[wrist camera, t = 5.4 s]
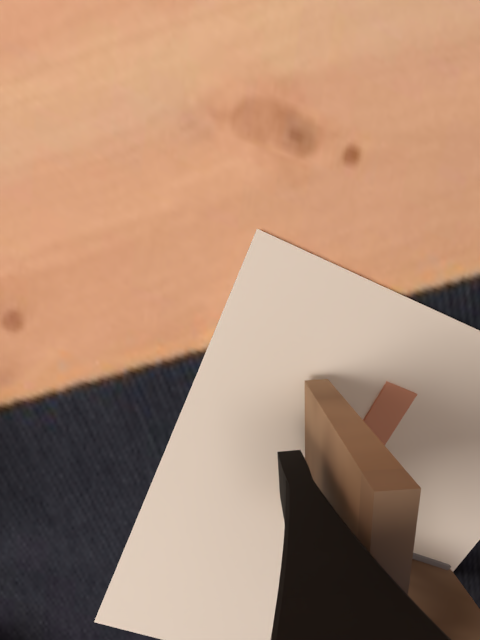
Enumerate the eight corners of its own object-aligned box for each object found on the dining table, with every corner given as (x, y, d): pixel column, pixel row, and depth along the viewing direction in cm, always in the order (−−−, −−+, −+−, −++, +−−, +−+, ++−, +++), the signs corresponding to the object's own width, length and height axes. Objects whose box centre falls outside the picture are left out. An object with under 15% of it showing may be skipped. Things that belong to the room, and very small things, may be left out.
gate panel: (325, 524, 11) (392, 716, 6) (305, 525, 11) (357, 718, 6) (327, 378, 10) (421, 488, 5) (304, 380, 10) (374, 491, 5)
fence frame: (456, 563, 13) (640, 808, 7) (436, 587, 13) (596, 838, 7) (303, 512, 12) (368, 746, 6) (286, 539, 12) (333, 784, 6)
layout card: (594, 384, 11) (607, 388, 11) (354, 681, 15) (357, 691, 15) (256, 230, 9) (257, 228, 9) (97, 614, 14) (93, 624, 13)
